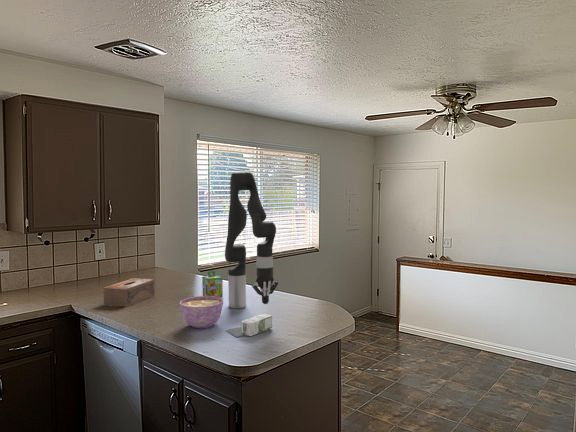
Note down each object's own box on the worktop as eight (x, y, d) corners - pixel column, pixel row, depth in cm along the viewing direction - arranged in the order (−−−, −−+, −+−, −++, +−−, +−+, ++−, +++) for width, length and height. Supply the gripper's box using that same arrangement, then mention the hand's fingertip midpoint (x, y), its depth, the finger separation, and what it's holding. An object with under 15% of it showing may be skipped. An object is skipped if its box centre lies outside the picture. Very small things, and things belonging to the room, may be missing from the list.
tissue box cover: (126, 307, 244) (125, 289, 243) (104, 305, 248) (103, 287, 248) (154, 296, 268) (154, 279, 268) (133, 294, 273) (133, 278, 272)
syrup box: (263, 313, 208) (240, 321, 197) (272, 315, 204) (250, 323, 193) (263, 325, 208) (240, 333, 197) (272, 328, 205) (250, 336, 194)
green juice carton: (209, 299, 259) (208, 273, 258) (201, 296, 267) (201, 271, 266) (223, 296, 265) (222, 271, 264) (216, 293, 272) (215, 269, 271)
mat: (226, 330, 203) (226, 329, 203) (257, 324, 211) (257, 323, 211) (236, 337, 194) (236, 336, 194) (269, 331, 202) (269, 330, 202)
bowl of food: (183, 320, 220) (183, 296, 219) (225, 318, 221) (225, 295, 220) (176, 333, 200) (175, 307, 199) (222, 332, 201) (221, 306, 200)
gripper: (273, 263, 212) (273, 299, 213) (247, 266, 205) (248, 304, 206) (281, 265, 205) (282, 303, 207) (255, 268, 198) (256, 307, 200)
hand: (265, 303), depth 206 cm, fingers closed
